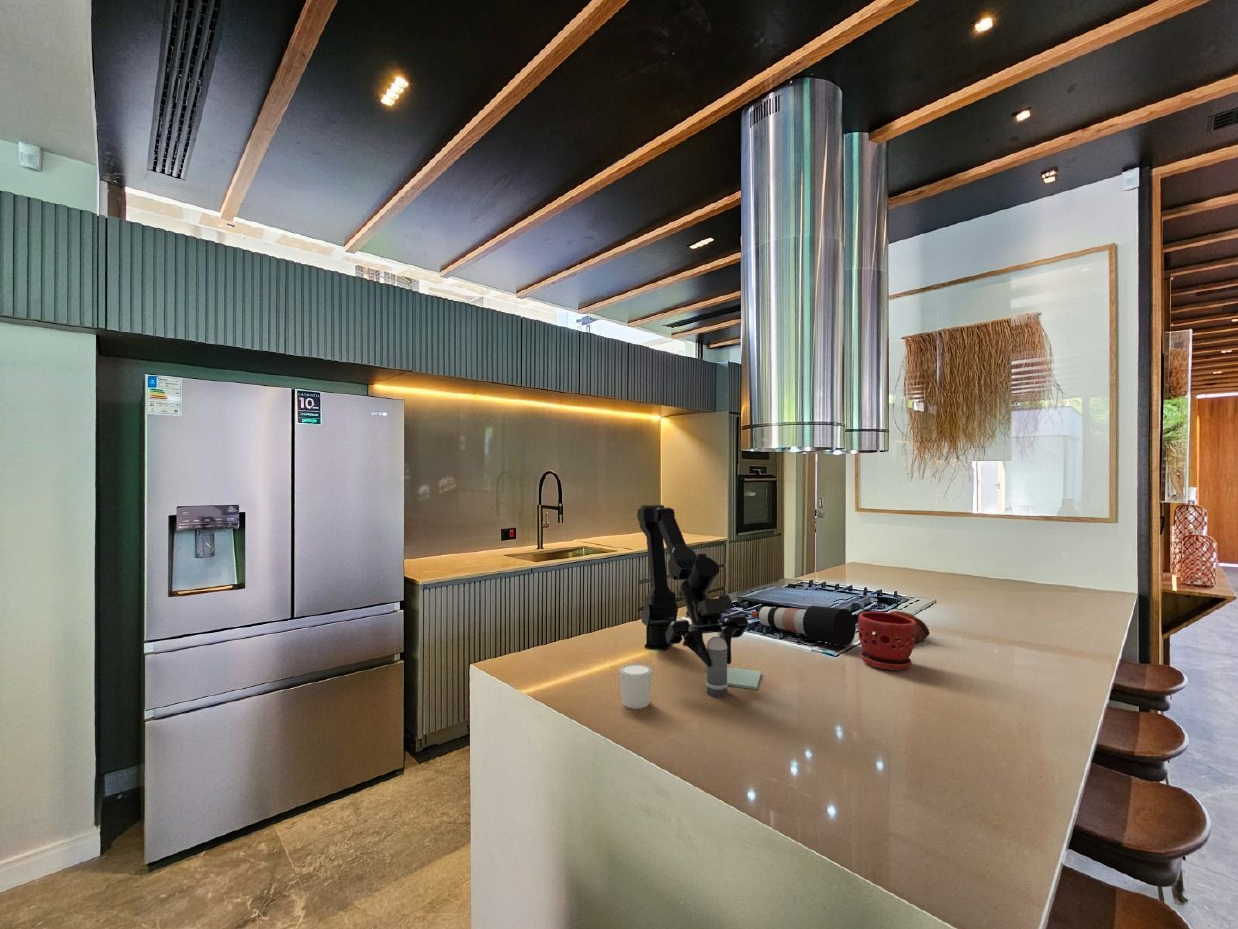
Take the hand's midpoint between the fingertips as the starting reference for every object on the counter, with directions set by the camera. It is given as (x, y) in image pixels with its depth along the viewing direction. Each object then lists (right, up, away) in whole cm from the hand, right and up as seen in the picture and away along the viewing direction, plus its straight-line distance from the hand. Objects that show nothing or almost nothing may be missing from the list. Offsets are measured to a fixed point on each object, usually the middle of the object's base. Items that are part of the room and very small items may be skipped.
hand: (720, 664), depth 118 cm
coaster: (+6, -7, +10) cm, 13 cm away
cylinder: (0, -7, +1) cm, 7 cm away
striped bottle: (+31, -8, +45) cm, 56 cm away
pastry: (+61, -8, +42) cm, 75 cm away
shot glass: (-18, -7, -4) cm, 20 cm away
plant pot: (+46, -7, +19) cm, 50 cm away
